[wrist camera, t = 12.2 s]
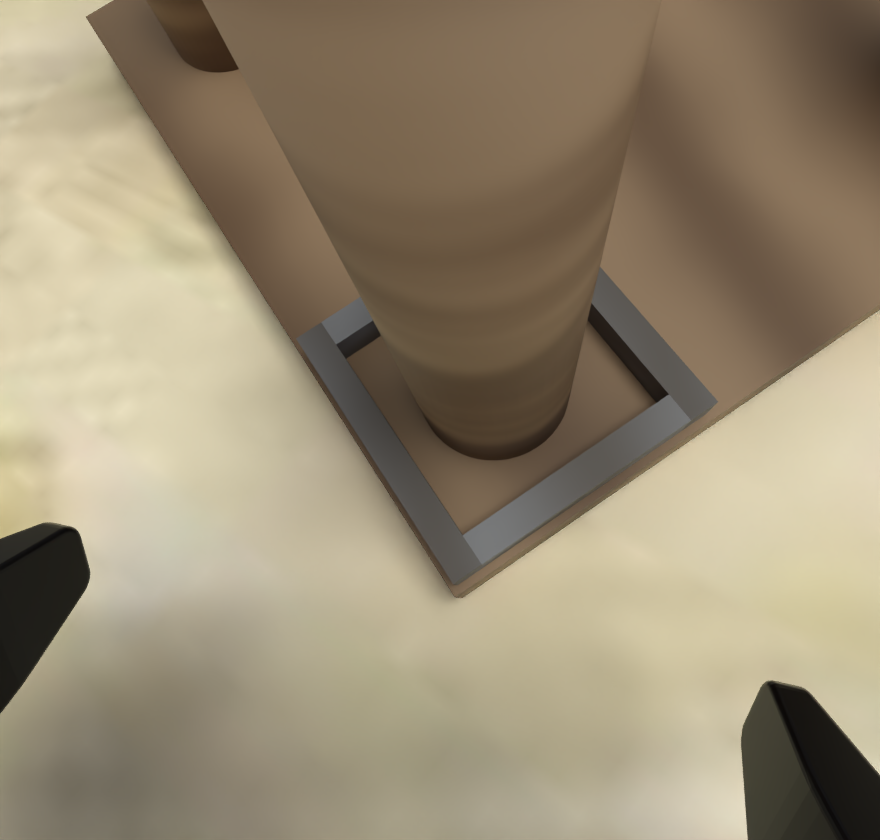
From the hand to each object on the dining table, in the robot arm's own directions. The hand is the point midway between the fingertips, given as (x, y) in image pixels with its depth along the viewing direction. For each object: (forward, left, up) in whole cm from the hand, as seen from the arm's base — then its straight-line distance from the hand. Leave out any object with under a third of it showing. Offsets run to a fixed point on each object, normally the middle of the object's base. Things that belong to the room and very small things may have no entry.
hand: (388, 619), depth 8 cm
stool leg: (+5, +4, -8) cm, 10 cm away
